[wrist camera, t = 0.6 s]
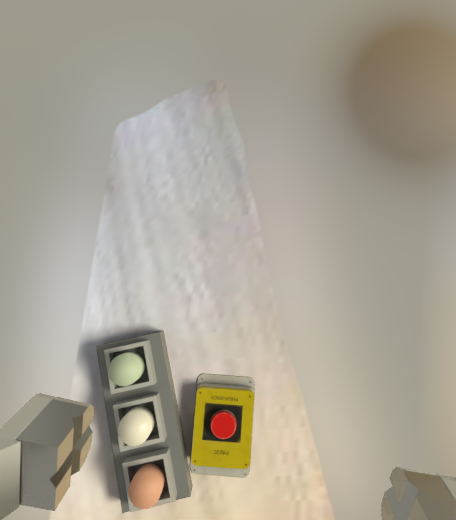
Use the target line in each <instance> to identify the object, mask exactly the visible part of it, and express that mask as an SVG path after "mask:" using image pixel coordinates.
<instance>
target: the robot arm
mask: <svg viewBox="0 0 456 520" xmlns="http://www.w3.org/2000/svg"><path fill="white" fill-rule="evenodd" d="M93 418H94V407H93V406H92V405H90V404H86V403H82V402H77V401H73V400H69V399H64V398H60V397H54V396H49V395H45V394H41V393H40V394H37V395H35V396H34V397H32V399H31V400H29V401H28V402H27V403H26V404H25V405H24V406H23V407H22V408H21V410H19V411H18V412H17V413H16V414H15V415H14V416H13V417H12V418H11V419H10V420H9V421H8V422H7V423H6V424H5V425H4V426H3V427H2V428H1V429H0V520H2V519H3V518H4V517H5V516H7V515H9V514H10V513H11V512H13V511H14V510H16V509H17V508H18V507H19V505H25V506H30V507H36V508H41V509H47V510H52V511H55V510H56V508H57V506H58V505H59V503H60V501H61V500H62V498H63V496H64V495H65V493H66V492H67V490H68V488H69V487H70V478H71V475H73V474H75V473H76V472H78V471H79V470H80V468H81V467H82V465H83V463H84V462H85V459H86V457H87V454H88V452H89V449H90V445H91V441H92V430H91V429H90V427H89V424H90V423H91V421H92V420H93ZM390 481H391V483H392V485H393V487H392V488H390V489H389V490H387V491H386V492H385V493H384V496H383V499H382V503H381V507H382V508H381V516H382V520H456V478H454V477H448V476H443V475H438V474H430V473H426V472H420V471H415V470H410V469H405V468H400V467H396V468H395V469H394V470H393V471H392V473H391V476H390Z"/></svg>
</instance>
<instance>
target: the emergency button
mask: <svg viewBox="0 0 456 520" xmlns="http://www.w3.org/2000/svg"><path fill="white" fill-rule="evenodd" d="M254 390H255V383H254V380H253V379H252V378H250V377H241V376H228V375H215V374H201V375H200V376H199V377H198V380H197V390H196V402H195V414H194V426H193V438H192V450H191V462H190V469H191V471H192V472H193V473H195V474H203V475H215V476H228V477H241V478H244V477H247V475H248V474H249V471H250V460H251V443H252V426H253V410H254Z"/></svg>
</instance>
